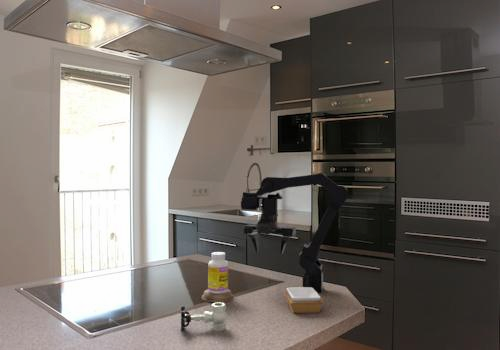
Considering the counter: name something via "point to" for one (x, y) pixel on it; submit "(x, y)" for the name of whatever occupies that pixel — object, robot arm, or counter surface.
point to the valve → (207, 317)
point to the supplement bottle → (218, 273)
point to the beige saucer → (217, 297)
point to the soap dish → (303, 299)
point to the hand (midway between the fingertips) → (269, 253)
